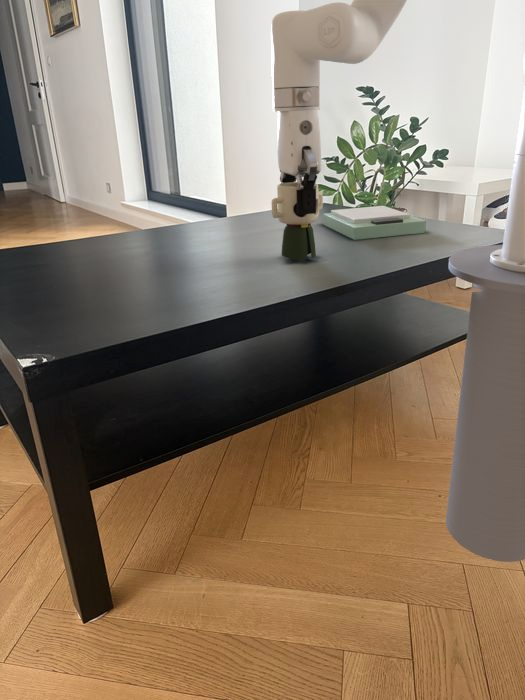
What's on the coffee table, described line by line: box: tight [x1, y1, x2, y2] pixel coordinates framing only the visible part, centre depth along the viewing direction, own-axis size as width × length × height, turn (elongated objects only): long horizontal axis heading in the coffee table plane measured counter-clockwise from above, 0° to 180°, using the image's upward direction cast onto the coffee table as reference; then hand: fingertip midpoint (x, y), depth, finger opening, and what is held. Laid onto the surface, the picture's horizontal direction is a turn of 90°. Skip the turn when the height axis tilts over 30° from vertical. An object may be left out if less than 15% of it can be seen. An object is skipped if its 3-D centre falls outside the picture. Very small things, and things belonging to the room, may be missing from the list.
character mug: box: [271, 181, 324, 261], centre depth 96 cm, size 11×7×13 cm, turn 124°
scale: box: [322, 205, 427, 241], centre depth 120 cm, size 18×16×3 cm
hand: (297, 209), depth 96 cm, fingers open, 9 cm apart
